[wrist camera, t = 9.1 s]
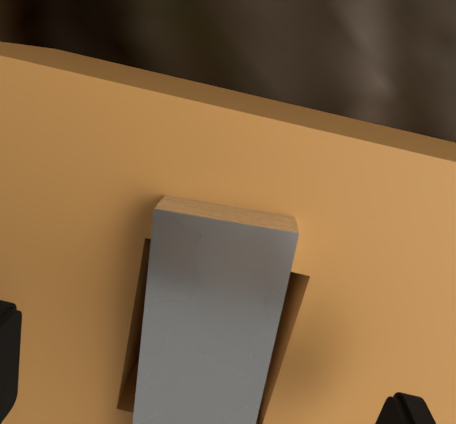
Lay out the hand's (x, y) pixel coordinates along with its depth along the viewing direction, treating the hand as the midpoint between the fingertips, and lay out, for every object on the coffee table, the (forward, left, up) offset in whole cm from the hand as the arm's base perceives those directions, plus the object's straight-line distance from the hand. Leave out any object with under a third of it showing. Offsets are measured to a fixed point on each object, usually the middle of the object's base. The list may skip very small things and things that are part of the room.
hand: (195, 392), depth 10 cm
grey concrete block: (0, 0, -10) cm, 10 cm away
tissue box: (0, 0, -12) cm, 12 cm away
